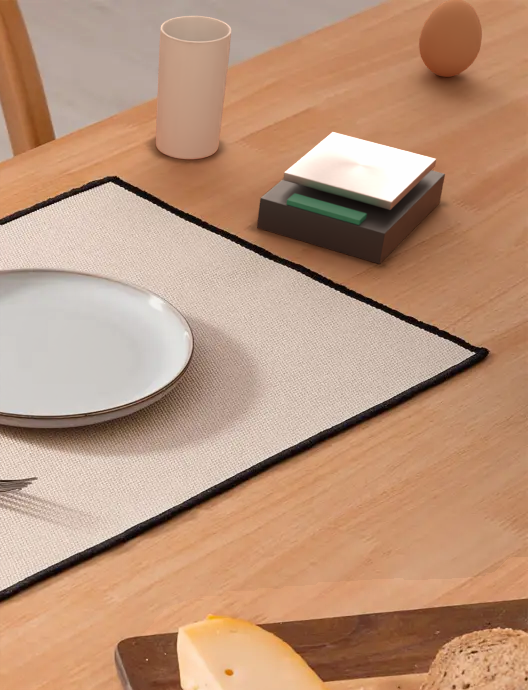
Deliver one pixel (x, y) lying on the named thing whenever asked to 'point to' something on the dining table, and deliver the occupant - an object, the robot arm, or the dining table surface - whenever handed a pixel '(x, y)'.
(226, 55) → the mug
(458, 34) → the egg
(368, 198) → the scale pan
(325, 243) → the scale
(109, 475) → the dining table surface
